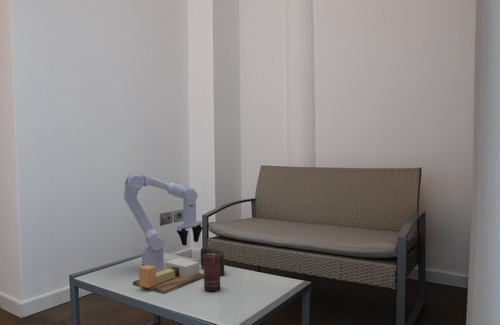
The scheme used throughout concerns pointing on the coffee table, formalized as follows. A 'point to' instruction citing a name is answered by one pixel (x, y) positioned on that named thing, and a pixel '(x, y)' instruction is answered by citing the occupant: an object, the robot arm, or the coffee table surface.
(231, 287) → the coffee table surface
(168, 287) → the walnut board
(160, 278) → the tan wooden l-shaped block
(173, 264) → the block
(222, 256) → the leaning round-cornered charcoal block
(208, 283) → the can
